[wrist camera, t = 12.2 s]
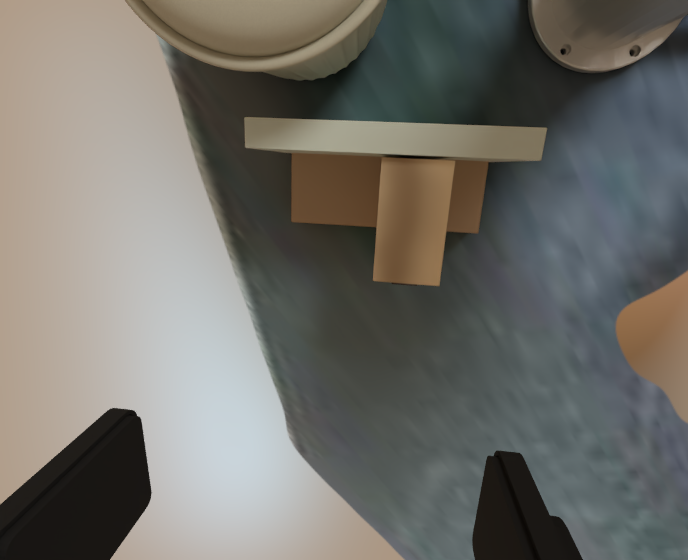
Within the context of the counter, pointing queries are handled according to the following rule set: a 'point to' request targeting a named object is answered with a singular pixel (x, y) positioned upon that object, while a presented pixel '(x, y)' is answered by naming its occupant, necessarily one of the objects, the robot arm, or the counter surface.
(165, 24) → the canister
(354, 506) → the counter surface
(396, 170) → the oak box
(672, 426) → the counter surface
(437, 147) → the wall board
